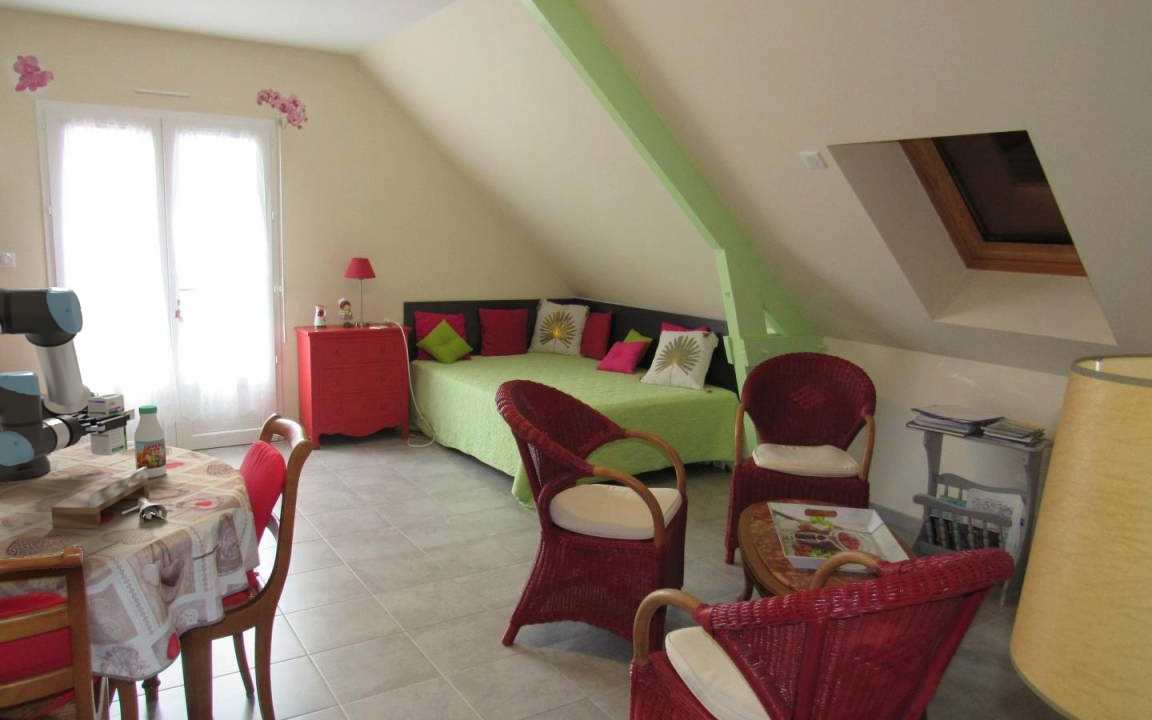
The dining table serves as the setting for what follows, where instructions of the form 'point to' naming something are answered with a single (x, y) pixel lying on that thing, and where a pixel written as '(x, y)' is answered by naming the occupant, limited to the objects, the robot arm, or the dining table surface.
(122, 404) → the syrup box
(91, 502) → the shelf
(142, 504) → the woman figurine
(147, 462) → the milk bottle
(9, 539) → the dining table surface
